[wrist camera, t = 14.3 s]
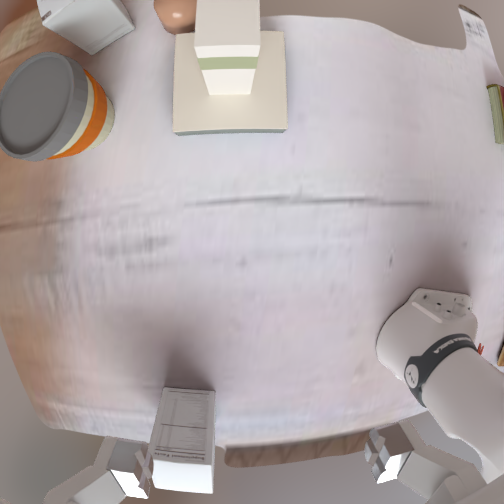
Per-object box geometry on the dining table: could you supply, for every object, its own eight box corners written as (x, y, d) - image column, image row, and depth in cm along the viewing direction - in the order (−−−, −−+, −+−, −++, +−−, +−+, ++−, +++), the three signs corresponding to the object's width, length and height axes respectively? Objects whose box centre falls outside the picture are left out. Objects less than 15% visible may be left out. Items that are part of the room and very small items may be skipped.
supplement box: (167, 420, 50) (152, 488, 33) (162, 385, 47) (142, 457, 31) (216, 424, 50) (214, 495, 34) (216, 390, 48) (212, 465, 32)
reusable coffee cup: (80, 72, 34) (26, 41, 19) (141, 98, 36) (98, 64, 21) (43, 144, 36) (-20, 139, 22) (100, 176, 38) (41, 180, 24)
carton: (250, 58, 32) (260, -3, 17) (250, 94, 33) (261, 45, 19) (209, 59, 32) (196, -2, 17) (208, 95, 33) (193, 47, 18)
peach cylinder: (203, 2, 32) (199, -18, 27) (202, 33, 34) (197, 13, 28) (164, 7, 32) (155, -13, 26) (161, 37, 34) (151, 19, 28)
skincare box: (125, 7, 31) (91, -41, 17) (137, 30, 33) (102, -19, 19) (80, 35, 32) (34, -2, 18) (90, 59, 33) (40, 24, 19)
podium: (279, 43, 35) (283, 31, 31) (282, 132, 38) (287, 128, 35) (180, 45, 34) (175, 34, 30) (178, 135, 38) (172, 131, 34)
